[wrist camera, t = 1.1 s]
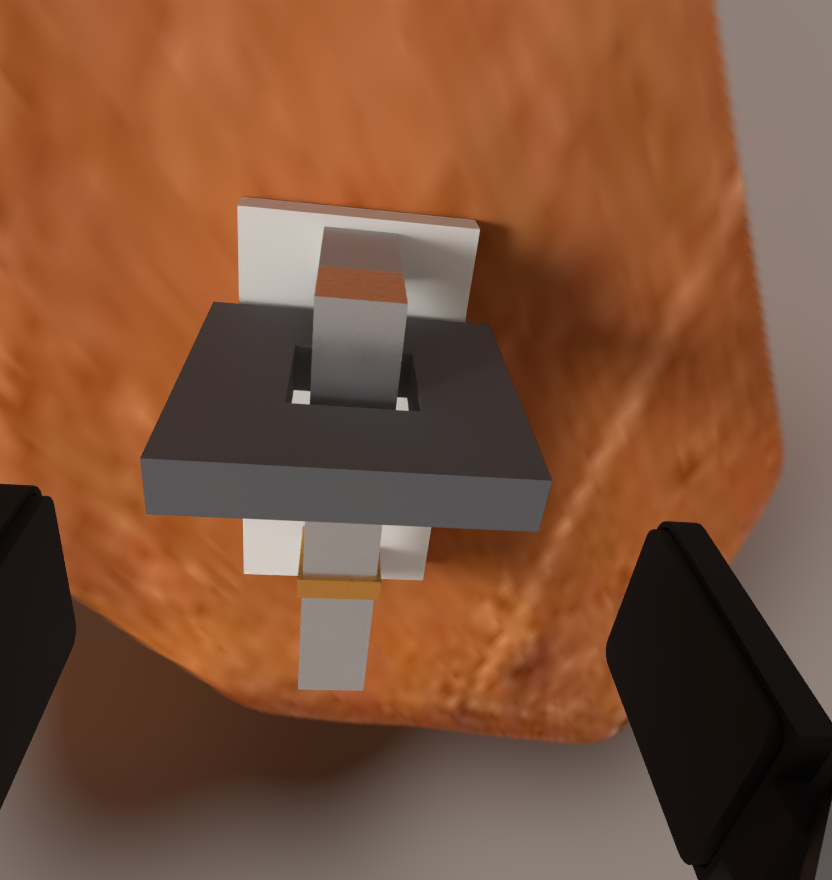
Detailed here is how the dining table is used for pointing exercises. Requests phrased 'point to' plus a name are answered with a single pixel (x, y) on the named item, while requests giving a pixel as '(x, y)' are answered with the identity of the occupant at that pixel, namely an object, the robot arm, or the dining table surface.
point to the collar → (344, 433)
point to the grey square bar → (344, 544)
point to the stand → (293, 286)
